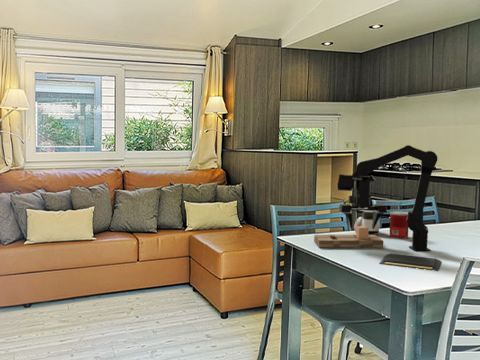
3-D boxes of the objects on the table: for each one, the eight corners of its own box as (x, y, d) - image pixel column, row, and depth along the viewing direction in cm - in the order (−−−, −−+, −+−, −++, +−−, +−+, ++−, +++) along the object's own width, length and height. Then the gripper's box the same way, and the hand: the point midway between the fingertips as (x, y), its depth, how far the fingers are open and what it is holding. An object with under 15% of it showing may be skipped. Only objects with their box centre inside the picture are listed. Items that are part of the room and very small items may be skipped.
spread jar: (379, 235, 217) (380, 210, 216) (354, 234, 219) (354, 209, 218) (377, 230, 228) (378, 206, 227) (353, 229, 231) (354, 205, 230)
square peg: (368, 244, 196) (368, 228, 195) (358, 244, 196) (358, 228, 195) (365, 242, 200) (365, 226, 199) (356, 242, 200) (356, 226, 199)
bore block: (383, 248, 192) (383, 240, 192) (319, 248, 191) (319, 240, 191) (374, 241, 204) (374, 234, 203) (314, 241, 203) (314, 234, 203)
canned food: (410, 238, 210) (411, 214, 209) (392, 238, 210) (393, 214, 209) (404, 235, 218) (405, 211, 217) (387, 234, 218) (388, 211, 217)
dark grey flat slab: (442, 257, 172) (438, 268, 159) (442, 263, 172) (438, 273, 159) (386, 251, 181) (377, 260, 168) (386, 256, 182) (377, 265, 168)
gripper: (379, 189, 204) (378, 225, 205) (336, 189, 204) (335, 225, 205) (388, 192, 193) (386, 230, 194) (342, 192, 192) (341, 230, 194)
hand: (362, 228), depth 197 cm, fingers open, 9 cm apart
